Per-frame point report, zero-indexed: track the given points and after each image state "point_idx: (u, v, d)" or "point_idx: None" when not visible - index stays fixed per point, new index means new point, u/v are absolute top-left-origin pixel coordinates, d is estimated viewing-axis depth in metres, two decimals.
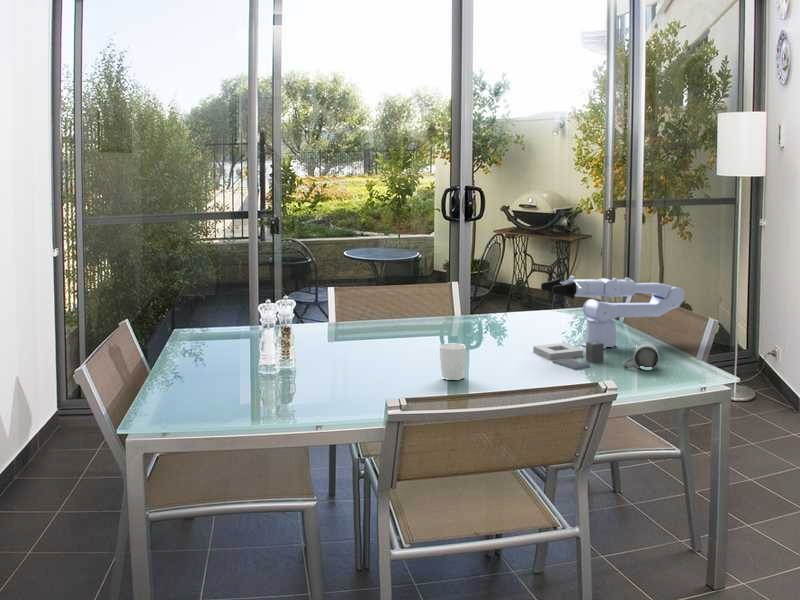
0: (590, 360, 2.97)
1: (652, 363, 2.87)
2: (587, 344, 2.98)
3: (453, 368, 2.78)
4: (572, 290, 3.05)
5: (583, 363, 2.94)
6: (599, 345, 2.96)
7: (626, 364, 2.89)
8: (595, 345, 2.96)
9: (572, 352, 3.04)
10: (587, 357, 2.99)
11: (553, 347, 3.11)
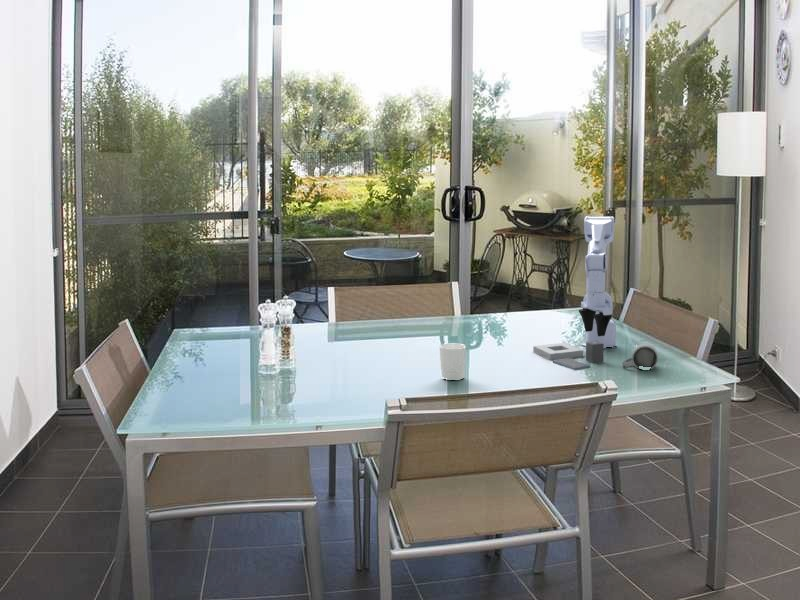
0: (590, 360, 2.97)
1: (651, 363, 2.87)
2: (587, 344, 2.98)
3: (453, 368, 2.78)
4: None
5: (583, 363, 2.94)
6: (599, 345, 2.96)
7: (625, 364, 2.89)
8: (595, 345, 2.96)
9: (572, 352, 3.04)
10: (587, 357, 2.99)
11: (553, 347, 3.11)
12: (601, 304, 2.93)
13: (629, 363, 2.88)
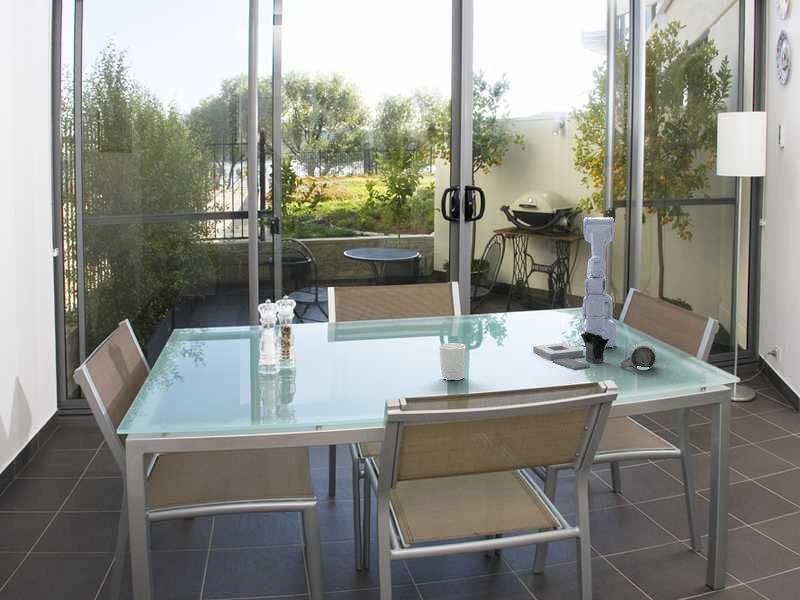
0: (590, 360, 2.97)
1: (649, 363, 2.87)
2: (587, 344, 2.98)
3: (453, 368, 2.78)
4: None
5: (583, 363, 2.94)
6: None
7: (623, 364, 2.89)
8: None
9: (572, 352, 3.04)
10: (587, 357, 2.99)
11: (553, 347, 3.11)
12: (601, 328, 2.95)
13: (627, 363, 2.88)
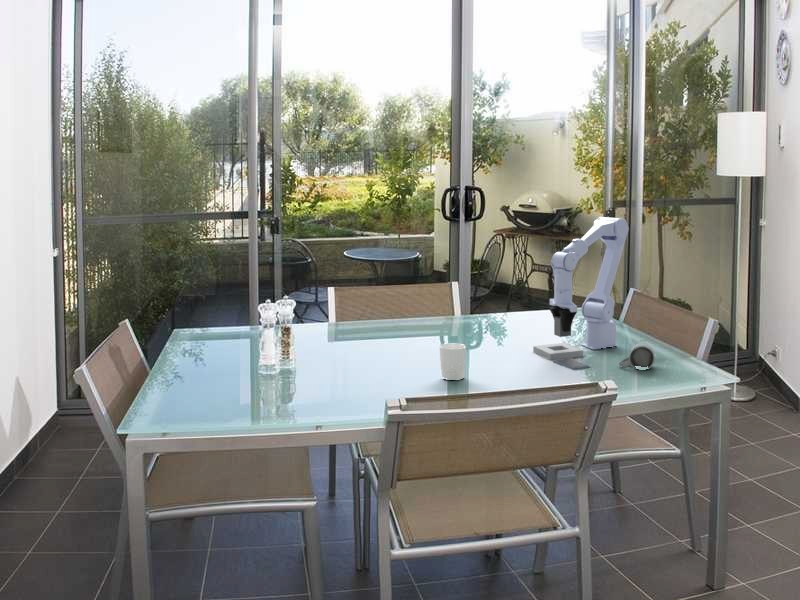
0: (558, 334, 3.05)
1: (647, 363, 2.87)
2: (555, 318, 3.06)
3: (453, 368, 2.78)
4: None
5: (583, 363, 2.93)
6: None
7: (622, 364, 2.89)
8: None
9: (572, 352, 3.04)
10: (555, 331, 3.07)
11: (553, 347, 3.11)
12: (569, 301, 3.02)
13: (626, 363, 2.88)
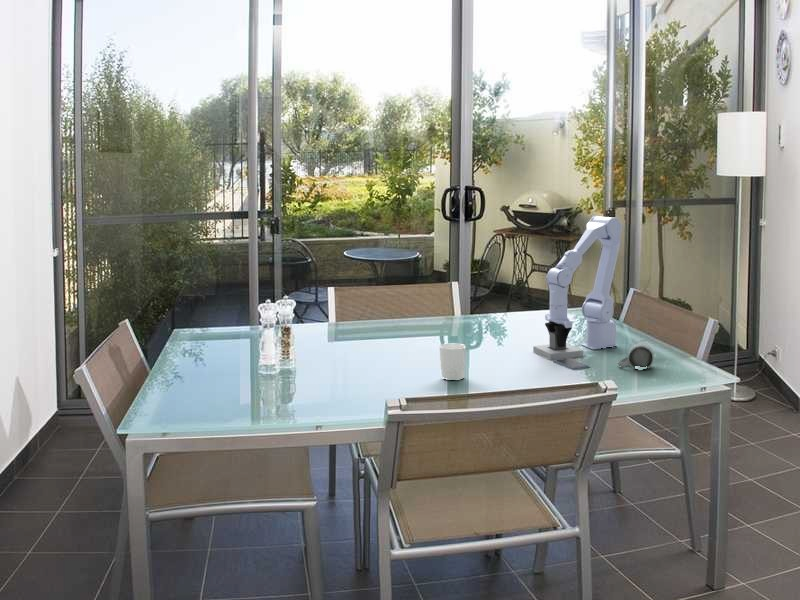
0: (553, 349, 3.07)
1: (646, 363, 2.87)
2: (550, 334, 3.08)
3: (453, 368, 2.78)
4: None
5: (583, 363, 2.93)
6: None
7: (620, 364, 2.89)
8: None
9: (572, 352, 3.04)
10: (550, 346, 3.09)
11: None
12: (564, 317, 3.05)
13: (625, 363, 2.88)
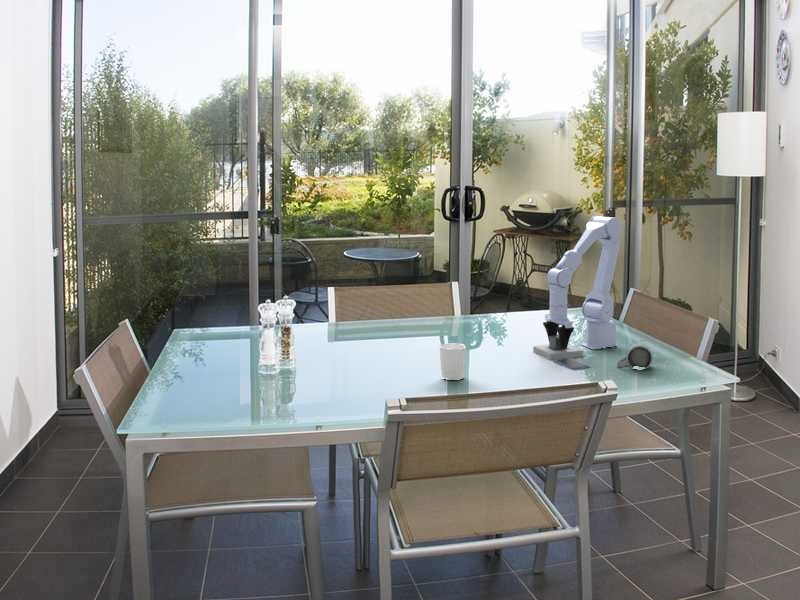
0: None
1: (645, 363, 2.87)
2: (550, 338, 3.09)
3: (453, 368, 2.78)
4: None
5: (583, 363, 2.93)
6: None
7: (619, 364, 2.89)
8: (558, 338, 3.06)
9: (572, 352, 3.04)
10: None
11: None
12: (564, 317, 3.05)
13: (624, 363, 2.88)
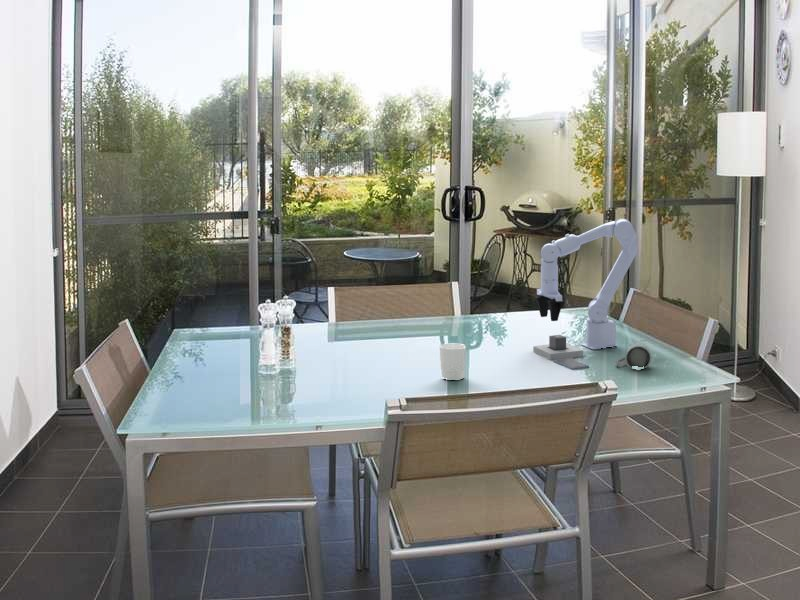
0: None
1: (644, 363, 2.87)
2: (550, 338, 3.09)
3: (453, 368, 2.78)
4: None
5: (583, 363, 2.93)
6: (562, 338, 3.07)
7: (618, 364, 2.90)
8: (558, 338, 3.06)
9: (572, 352, 3.04)
10: None
11: None
12: (555, 291, 3.15)
13: (622, 363, 2.88)
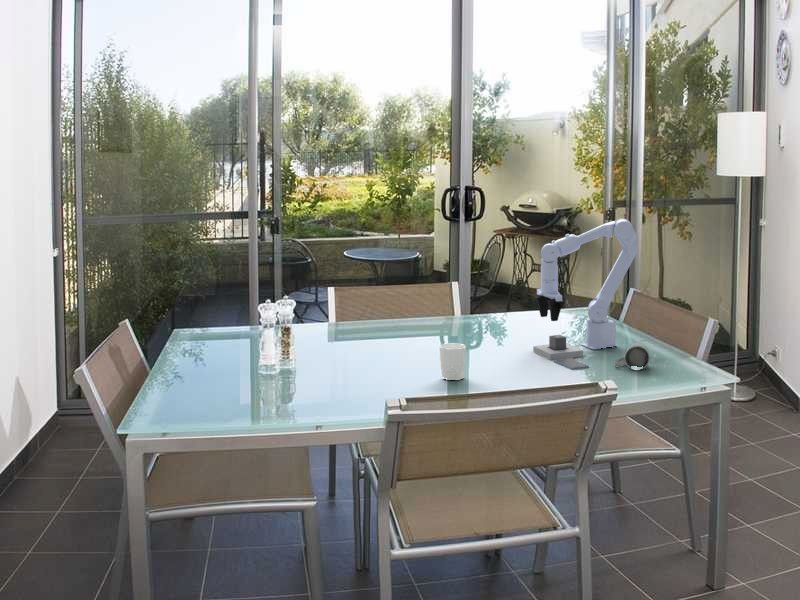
0: None
1: (643, 363, 2.87)
2: (550, 338, 3.09)
3: (453, 368, 2.78)
4: None
5: (582, 363, 2.93)
6: (562, 338, 3.07)
7: (617, 364, 2.90)
8: (558, 338, 3.06)
9: (572, 352, 3.04)
10: None
11: None
12: (555, 291, 3.15)
13: (621, 363, 2.89)
